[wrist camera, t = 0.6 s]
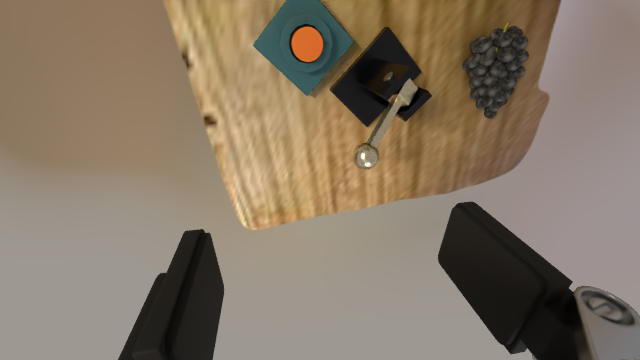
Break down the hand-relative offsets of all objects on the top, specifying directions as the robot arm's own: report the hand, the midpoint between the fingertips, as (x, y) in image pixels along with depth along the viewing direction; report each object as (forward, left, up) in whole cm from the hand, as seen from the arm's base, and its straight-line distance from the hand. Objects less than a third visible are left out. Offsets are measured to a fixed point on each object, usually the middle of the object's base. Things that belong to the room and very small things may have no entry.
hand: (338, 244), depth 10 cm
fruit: (+23, +23, -35) cm, 48 cm away
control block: (-2, +6, -35) cm, 36 cm away
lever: (+10, +5, -24) cm, 27 cm away
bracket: (+10, +10, -35) cm, 38 cm away
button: (-2, +6, -32) cm, 32 cm away
